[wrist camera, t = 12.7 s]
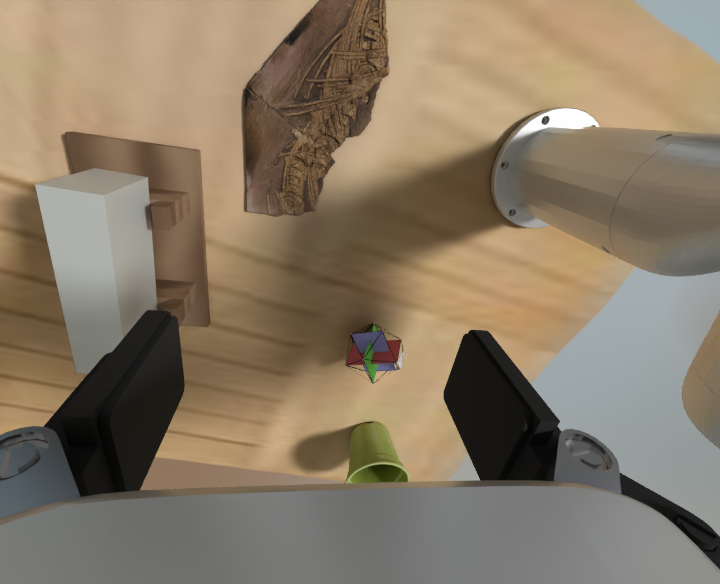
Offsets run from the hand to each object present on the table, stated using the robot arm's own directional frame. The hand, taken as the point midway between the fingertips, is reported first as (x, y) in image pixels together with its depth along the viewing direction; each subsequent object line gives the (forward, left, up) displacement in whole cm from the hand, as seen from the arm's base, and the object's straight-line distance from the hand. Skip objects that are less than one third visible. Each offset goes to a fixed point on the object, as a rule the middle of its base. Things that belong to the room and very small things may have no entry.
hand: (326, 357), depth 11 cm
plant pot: (-12, +38, -28) cm, 49 cm away
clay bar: (+17, +8, -23) cm, 30 cm away
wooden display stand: (+17, +8, -28) cm, 34 cm away
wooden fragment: (+1, -8, -29) cm, 30 cm away
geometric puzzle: (-9, +19, -29) cm, 35 cm away
